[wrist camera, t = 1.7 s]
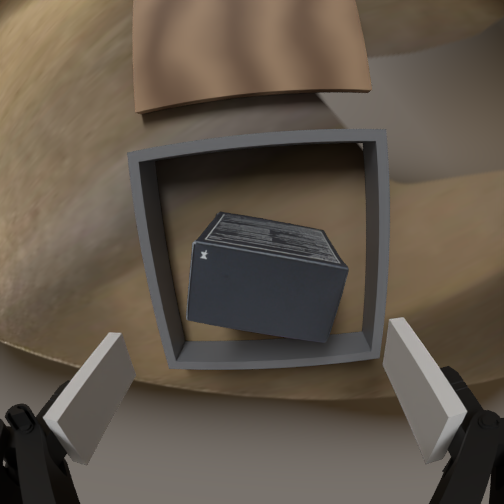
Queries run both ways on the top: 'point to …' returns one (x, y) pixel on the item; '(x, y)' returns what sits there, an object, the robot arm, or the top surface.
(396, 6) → the top surface
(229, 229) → the small box
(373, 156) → the bin
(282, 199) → the top surface
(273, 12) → the walnut board
